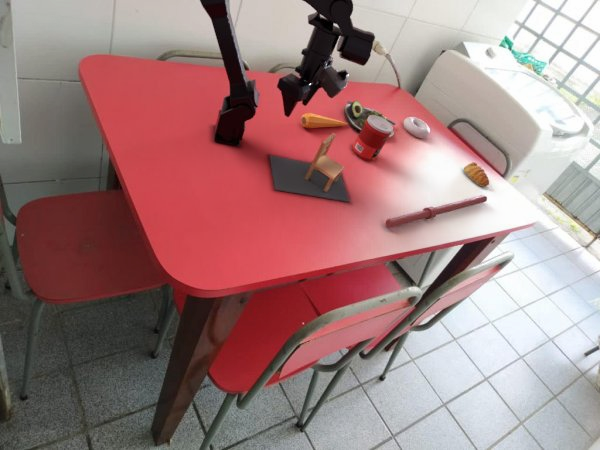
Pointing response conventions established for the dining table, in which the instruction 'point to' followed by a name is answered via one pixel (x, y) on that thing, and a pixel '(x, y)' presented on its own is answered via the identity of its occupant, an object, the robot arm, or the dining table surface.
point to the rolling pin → (434, 211)
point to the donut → (416, 127)
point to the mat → (304, 180)
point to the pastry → (476, 174)
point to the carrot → (319, 121)
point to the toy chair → (326, 163)
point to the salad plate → (360, 115)
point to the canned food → (372, 137)
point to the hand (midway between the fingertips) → (295, 110)
